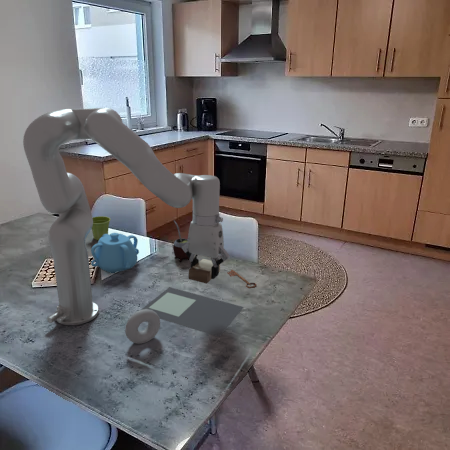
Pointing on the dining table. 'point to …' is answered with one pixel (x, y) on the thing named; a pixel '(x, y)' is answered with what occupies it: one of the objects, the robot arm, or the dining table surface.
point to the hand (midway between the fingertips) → (204, 274)
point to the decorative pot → (115, 252)
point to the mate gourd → (180, 247)
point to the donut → (137, 319)
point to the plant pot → (100, 226)
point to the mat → (194, 311)
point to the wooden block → (201, 271)
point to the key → (241, 278)
